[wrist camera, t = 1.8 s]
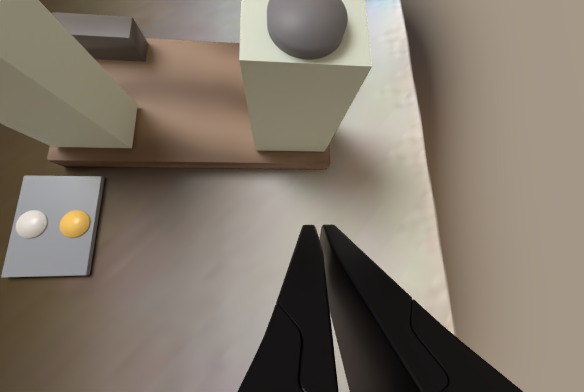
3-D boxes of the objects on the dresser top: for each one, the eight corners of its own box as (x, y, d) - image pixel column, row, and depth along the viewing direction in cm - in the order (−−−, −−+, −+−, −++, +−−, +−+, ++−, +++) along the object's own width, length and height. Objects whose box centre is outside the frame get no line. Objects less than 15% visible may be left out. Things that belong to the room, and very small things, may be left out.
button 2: (131, 148, 19) (-33, 34, 9) (52, 146, 19) (-220, 24, 8) (137, 104, 20) (-7, -47, 10) (62, 101, 20) (-176, -60, 9)
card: (89, 274, 19) (84, 275, 18) (7, 276, 18) (-1, 277, 18) (104, 177, 20) (100, 175, 20) (29, 177, 20) (22, 175, 19)
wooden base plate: (326, 169, 22) (337, 152, 18) (63, 166, 20) (13, 147, 16) (320, 59, 25) (330, 24, 21) (86, 47, 23) (47, 6, 19)
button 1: (324, 151, 21) (377, 56, 10) (255, 150, 20) (237, 48, 10) (322, 110, 21) (369, -17, 11) (256, 108, 21) (240, -28, 10)
